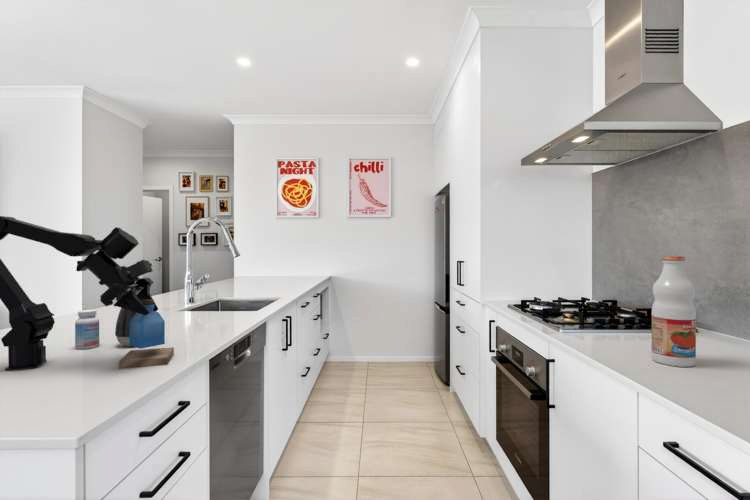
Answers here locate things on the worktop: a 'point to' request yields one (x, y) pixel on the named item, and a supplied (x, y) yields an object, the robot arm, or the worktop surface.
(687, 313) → the fruit juice
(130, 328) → the perfume bottle
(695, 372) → the worktop surface
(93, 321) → the pill bottle
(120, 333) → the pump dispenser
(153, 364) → the walnut block
